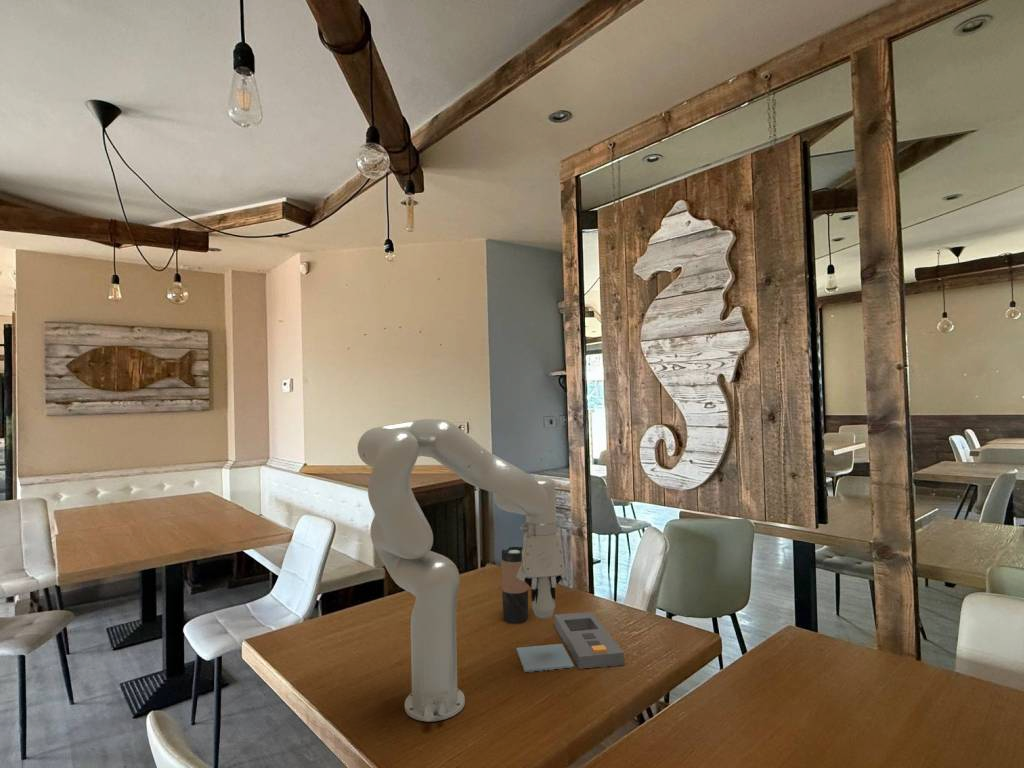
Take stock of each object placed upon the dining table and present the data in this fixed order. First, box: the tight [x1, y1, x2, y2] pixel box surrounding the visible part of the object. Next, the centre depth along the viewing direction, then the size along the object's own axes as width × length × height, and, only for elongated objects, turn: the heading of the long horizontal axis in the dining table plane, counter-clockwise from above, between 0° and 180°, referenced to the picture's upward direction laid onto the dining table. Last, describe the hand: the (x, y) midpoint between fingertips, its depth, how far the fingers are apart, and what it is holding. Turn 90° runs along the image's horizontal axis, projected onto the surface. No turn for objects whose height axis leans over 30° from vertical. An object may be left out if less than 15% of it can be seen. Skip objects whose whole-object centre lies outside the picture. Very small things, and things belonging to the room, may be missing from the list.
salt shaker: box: [531, 577, 556, 619], centre depth 138 cm, size 6×6×13 cm
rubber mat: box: [515, 643, 575, 673], centre depth 137 cm, size 12×12×1 cm
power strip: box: [553, 611, 625, 670], centre depth 145 cm, size 26×11×4 cm, turn 9°
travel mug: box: [501, 546, 529, 625], centre depth 163 cm, size 8×8×20 cm
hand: (543, 602), depth 138 cm, fingers closed on salt shaker, 3 cm apart
